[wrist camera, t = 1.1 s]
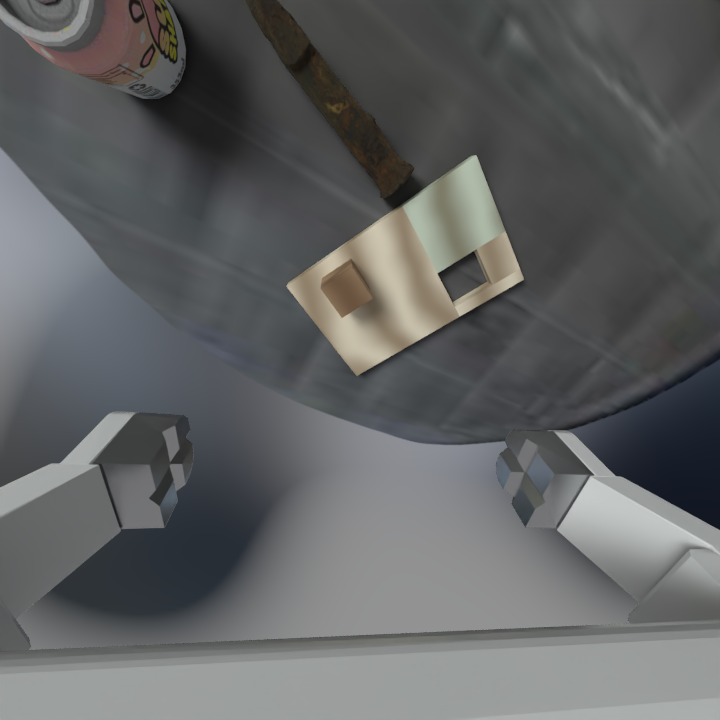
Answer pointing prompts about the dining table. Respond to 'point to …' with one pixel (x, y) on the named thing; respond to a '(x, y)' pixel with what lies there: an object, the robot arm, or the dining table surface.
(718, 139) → the dining table surface
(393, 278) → the birch board
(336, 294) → the walnut cube
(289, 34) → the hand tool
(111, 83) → the beverage can
